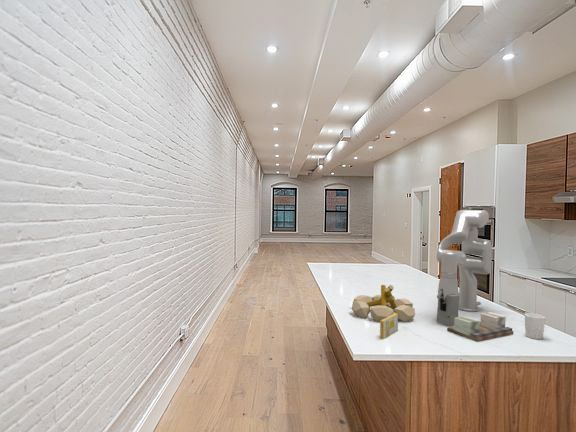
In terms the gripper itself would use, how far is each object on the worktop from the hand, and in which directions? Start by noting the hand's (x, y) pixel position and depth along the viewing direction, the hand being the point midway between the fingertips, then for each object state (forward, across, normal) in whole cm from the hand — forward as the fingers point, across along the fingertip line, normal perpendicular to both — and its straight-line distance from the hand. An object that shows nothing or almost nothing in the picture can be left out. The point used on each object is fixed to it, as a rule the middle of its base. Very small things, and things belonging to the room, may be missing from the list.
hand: (448, 309), depth 185 cm
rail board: (+7, -3, +16) cm, 18 cm away
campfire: (+8, +20, -27) cm, 34 cm away
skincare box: (+7, 0, 0) cm, 7 cm away
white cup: (+7, -22, +30) cm, 38 cm away
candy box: (+8, +40, +1) cm, 41 cm away
